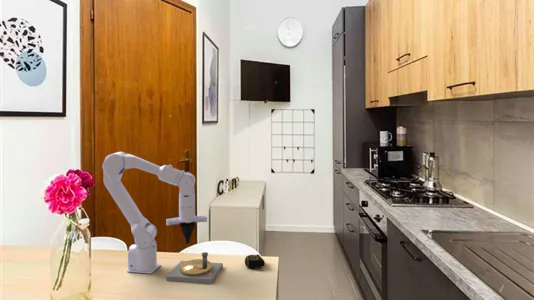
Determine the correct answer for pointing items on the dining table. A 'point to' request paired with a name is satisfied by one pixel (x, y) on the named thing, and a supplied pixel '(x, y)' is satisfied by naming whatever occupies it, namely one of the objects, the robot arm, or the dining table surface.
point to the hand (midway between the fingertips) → (187, 242)
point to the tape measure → (254, 261)
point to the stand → (205, 278)
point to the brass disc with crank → (196, 266)
